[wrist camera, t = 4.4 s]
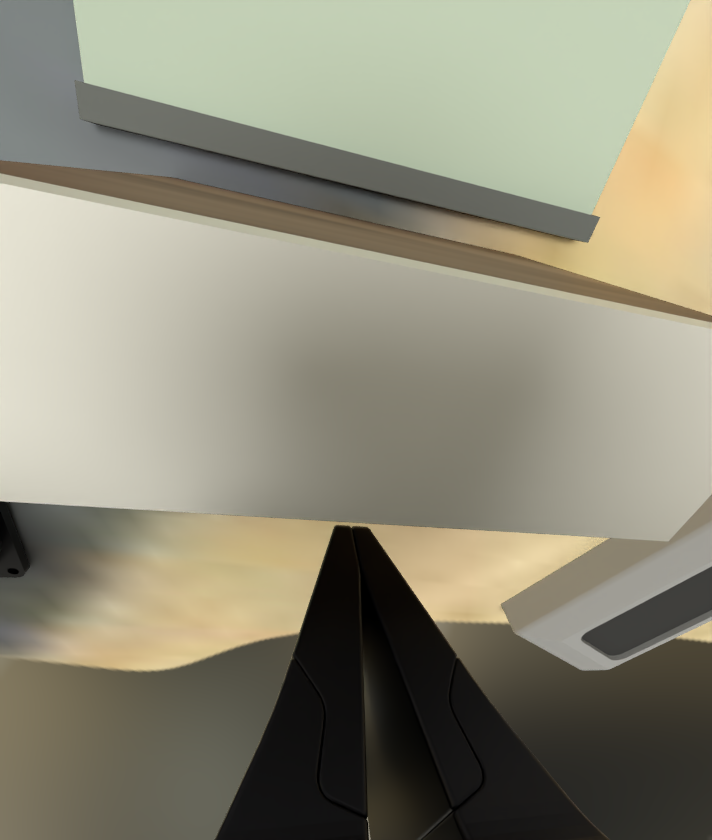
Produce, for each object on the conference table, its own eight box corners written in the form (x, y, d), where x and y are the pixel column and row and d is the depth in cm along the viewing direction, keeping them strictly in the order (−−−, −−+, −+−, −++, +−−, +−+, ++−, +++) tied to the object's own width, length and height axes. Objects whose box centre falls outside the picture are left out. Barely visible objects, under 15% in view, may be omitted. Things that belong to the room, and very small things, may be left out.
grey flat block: (523, 652, 24) (765, 521, 19) (498, 598, 27) (701, 474, 22) (589, 686, 28) (802, 586, 23) (560, 636, 31) (743, 539, 26)
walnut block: (476, 354, 16) (668, 541, 7) (177, 305, 13) (-43, 498, 5) (515, 254, 14) (840, 355, 5) (172, 177, 11) (-210, 140, 3)
